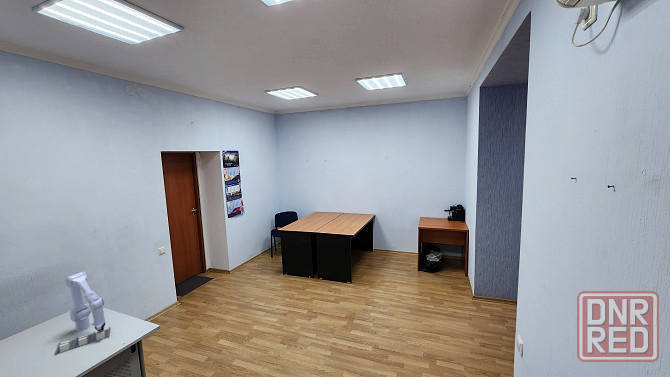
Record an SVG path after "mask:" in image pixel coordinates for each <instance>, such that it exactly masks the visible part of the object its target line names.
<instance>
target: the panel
mask: <svg viewBox="0 0 670 377" xmlns="http://www.w3.org/2000/svg"><path fill="white" fill-rule="evenodd" d="M104 331H105V338H103V339H100V340H97V337H96V333H97V332H92V333H91V334H86V335H87V336H88V343H87V344H84V345H81V346H79V341H78V340H79V337H78V336H76V337H75V339H71V340H68V341H69V342H70V348H69V349H68V350H65V351H62V352H60V347H59V346H60V344H61V343H62V342H58V344H57V347H56V349H55V351H54V356H56V355H60V354H62V353H66V352H69V351H72V350H74V349H77V348H81V347H84V346H87V345H90V344H93V343H96V342H99V341H103V340H106V339H109V338H110V336H111V326H109V327H108V329H104Z"/></svg>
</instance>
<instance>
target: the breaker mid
mask: <svg viewBox="0 0 670 377" xmlns="http://www.w3.org/2000/svg"><path fill="white" fill-rule="evenodd" d="M87 335H88V334H85V335H82V336H79V337H78V338H79V340H78V341H79V346H81V345H84V344H87V343H88V336H87ZM87 345H88V344H87ZM84 346H85V345H84ZM81 347H82V346H81Z"/></svg>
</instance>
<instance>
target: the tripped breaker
mask: <svg viewBox="0 0 670 377" xmlns="http://www.w3.org/2000/svg"><path fill="white" fill-rule="evenodd" d="M104 330H105V329H104ZM104 330H101V331H97V332H95V333H96V337H97V340H100V339H103V338H105V331H104ZM103 340H104V339H103ZM100 341H101V340H100Z"/></svg>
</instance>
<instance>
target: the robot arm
mask: <svg viewBox="0 0 670 377" xmlns="http://www.w3.org/2000/svg"><path fill="white" fill-rule="evenodd" d="M64 280H65V285H66V287H67V288H70V293H71V297H72V298H71V299H72V301H73V306H74V307H73V308H72V309H71V310H70V312H69V314H70V315H69V316H70V320H71V321H72V322H74V324H75V329H76V332H82V331H85V330H87V329H89V328H90V326H94V329H95V330H96V331H97V332H98V331H101V330H105V327H106V319H105V313H104V307H103V306H104V305H105V302H104V299H103V298H102V297H100V296H98V294H97V293H96V291H95V290H92V289H91V287H90V286H89V283H88V282H87V281H88V275H87V273H86V272H85V271H81V272H78V273H75V274H72V275H69V276H66V278H64ZM82 292H83V293H84V295H83V294H82ZM83 297H84V298H85V300H86V301H87V303H88V304H86V303H84V300H83V299H84V298H83ZM91 314H92V319H93V323H92V322H90V315H91Z"/></svg>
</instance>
